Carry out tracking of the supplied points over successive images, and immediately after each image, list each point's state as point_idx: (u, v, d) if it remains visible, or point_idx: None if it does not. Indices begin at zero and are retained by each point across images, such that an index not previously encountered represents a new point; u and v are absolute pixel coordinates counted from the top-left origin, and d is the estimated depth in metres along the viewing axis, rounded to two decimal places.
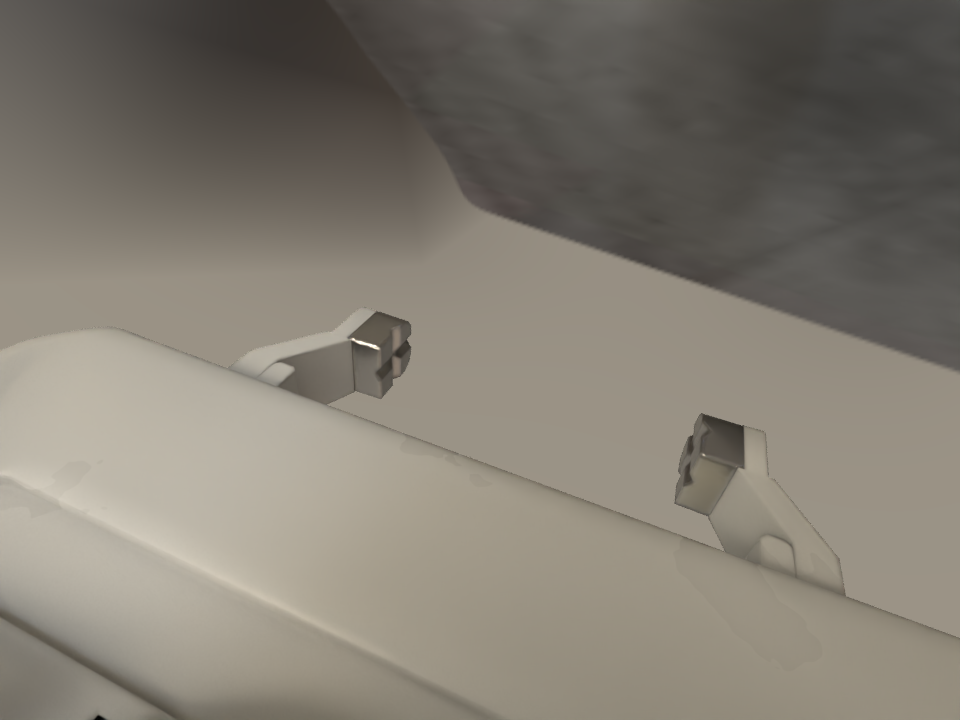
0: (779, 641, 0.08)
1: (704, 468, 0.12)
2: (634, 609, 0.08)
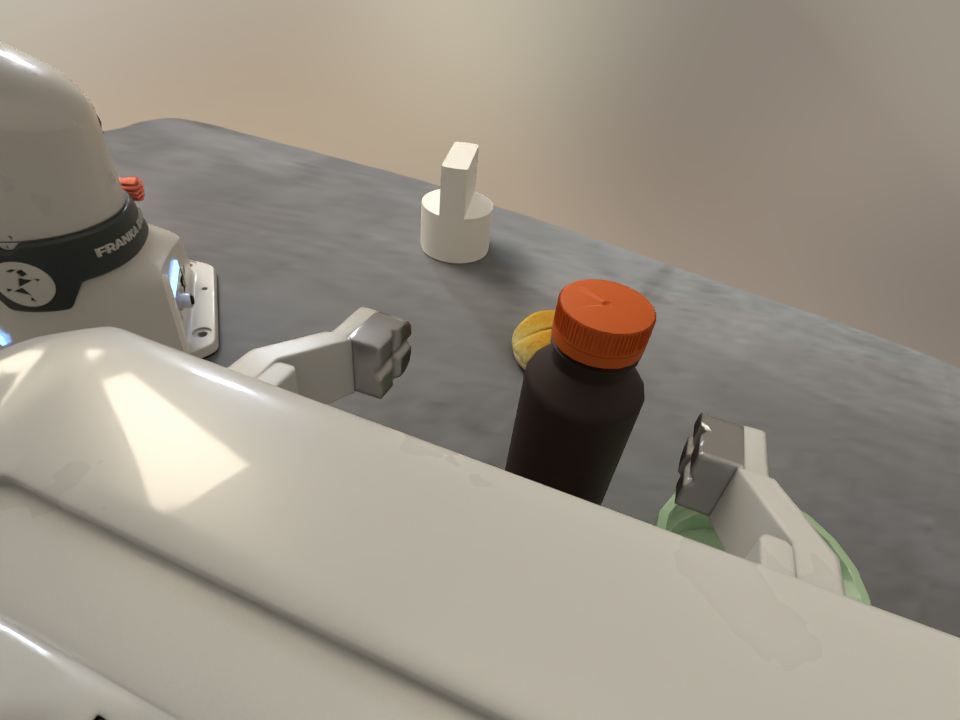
0: (779, 641, 0.08)
1: (704, 468, 0.12)
2: (634, 609, 0.08)
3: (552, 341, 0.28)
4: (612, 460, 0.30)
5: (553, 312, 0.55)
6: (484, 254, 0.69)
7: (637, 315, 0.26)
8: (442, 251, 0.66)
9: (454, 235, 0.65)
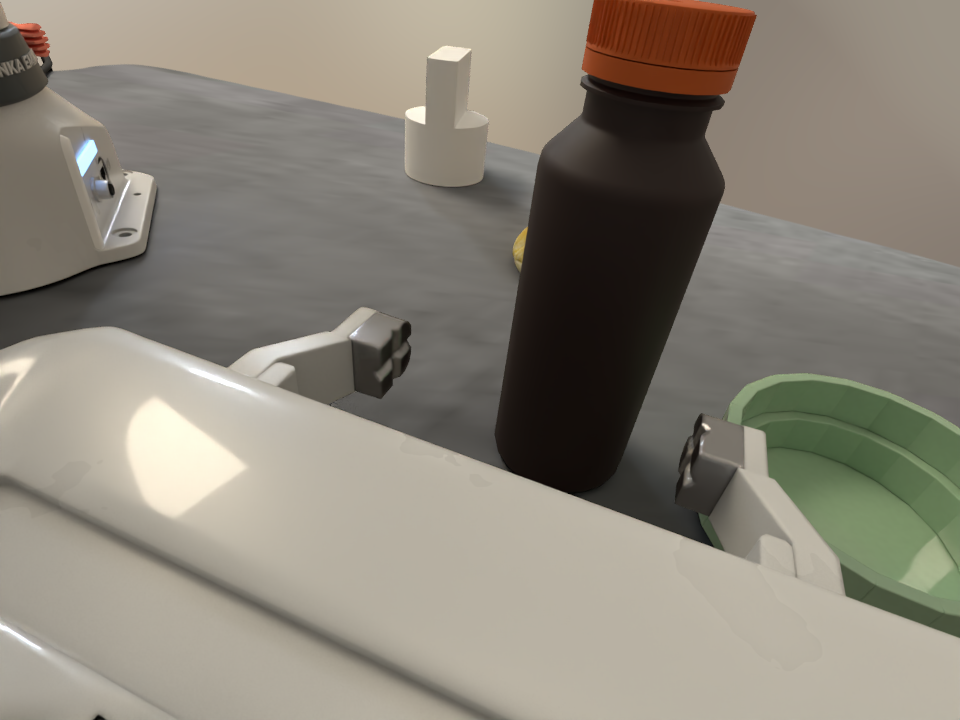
0: (779, 641, 0.08)
1: (704, 468, 0.12)
2: (635, 609, 0.08)
3: (583, 82, 0.18)
4: (674, 293, 0.20)
5: None
6: (478, 179, 0.59)
7: (726, 8, 0.16)
8: (429, 171, 0.57)
9: (443, 149, 0.55)
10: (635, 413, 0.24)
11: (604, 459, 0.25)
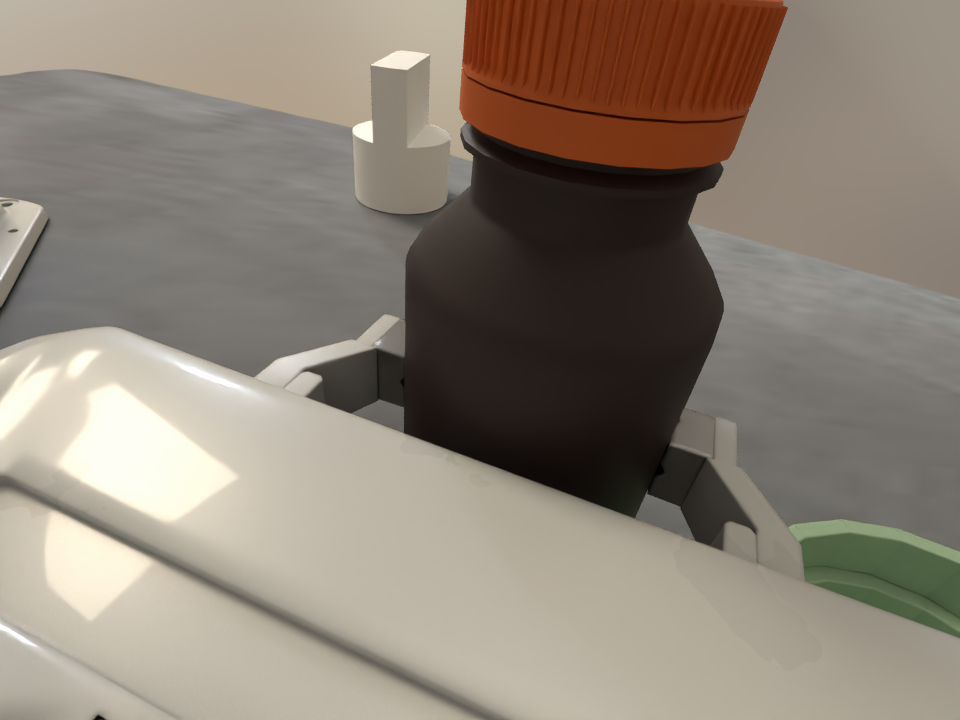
0: (779, 641, 0.08)
1: (674, 458, 0.12)
2: (635, 609, 0.08)
3: (464, 132, 0.10)
4: (638, 480, 0.12)
5: None
6: (440, 204, 0.51)
7: None
8: (381, 196, 0.49)
9: (394, 172, 0.47)
10: None
11: None
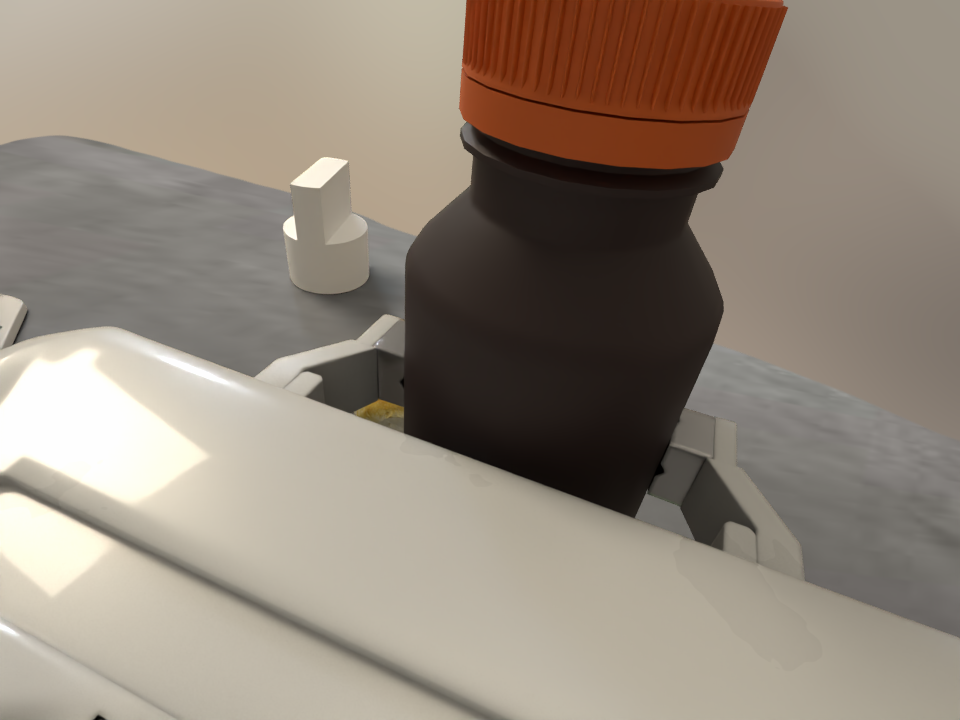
0: (779, 641, 0.08)
1: (675, 458, 0.12)
2: (635, 609, 0.08)
3: (463, 132, 0.10)
4: (637, 480, 0.12)
5: None
6: (361, 283, 0.61)
7: None
8: (307, 280, 0.58)
9: (317, 262, 0.57)
10: None
11: None
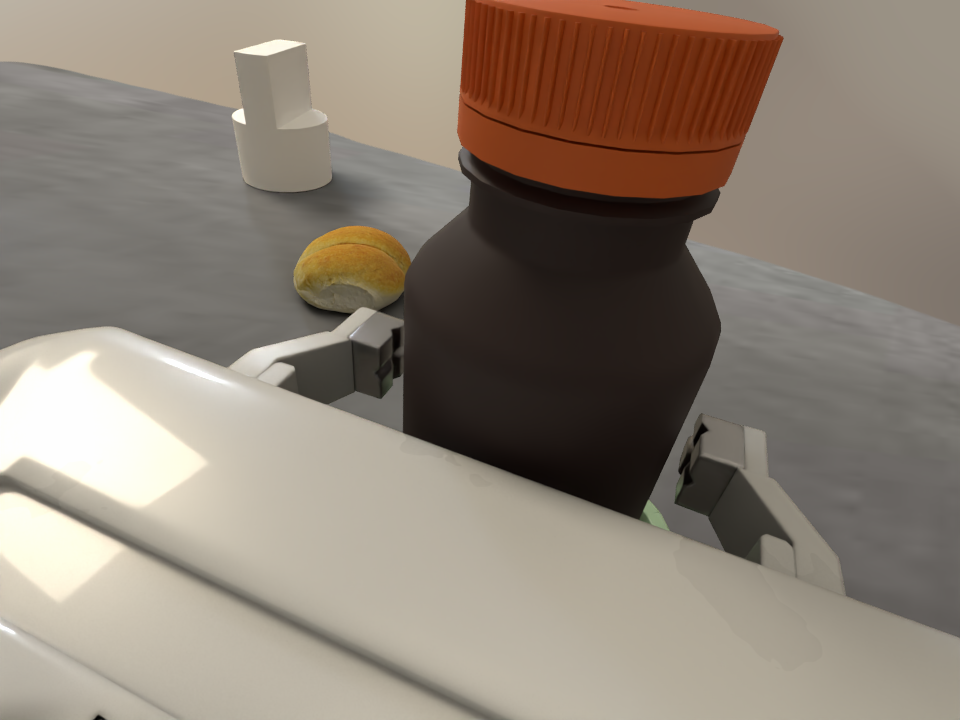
0: (779, 641, 0.08)
1: (704, 468, 0.12)
2: (635, 609, 0.08)
3: (462, 156, 0.10)
4: (635, 498, 0.12)
5: (356, 227, 0.40)
6: (321, 184, 0.55)
7: (721, 22, 0.08)
8: (260, 175, 0.52)
9: (268, 151, 0.51)
10: None
11: None
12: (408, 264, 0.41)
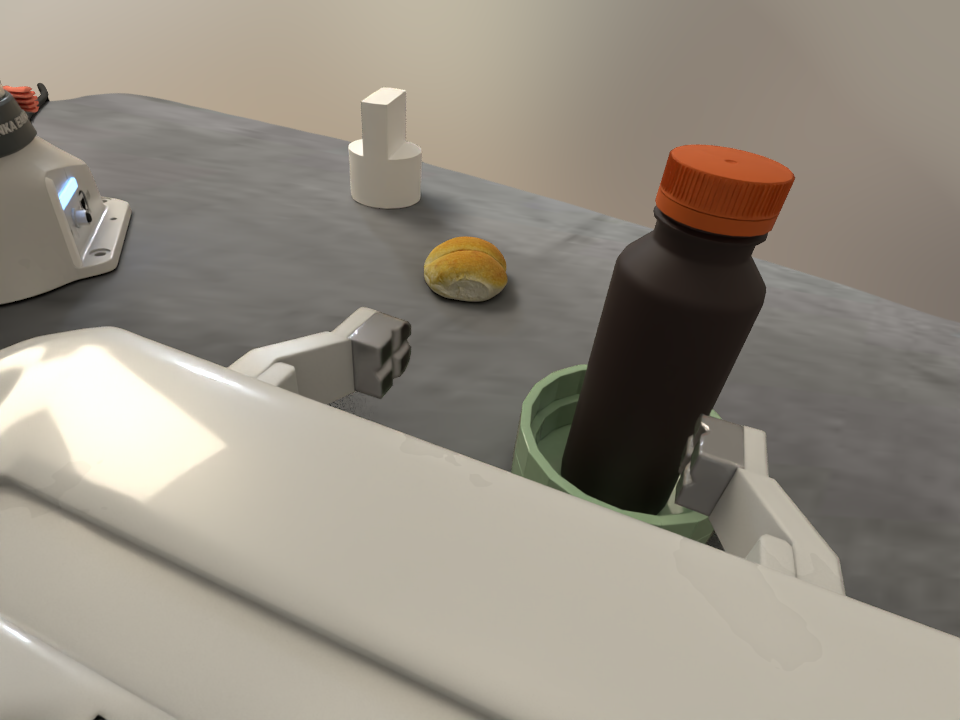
0: (779, 641, 0.08)
1: (704, 468, 0.12)
2: (635, 609, 0.08)
3: (658, 216, 0.23)
4: (724, 372, 0.25)
5: (467, 237, 0.53)
6: (414, 201, 0.68)
7: (771, 170, 0.21)
8: (369, 195, 0.66)
9: (379, 177, 0.64)
10: None
11: (659, 497, 0.30)
12: (505, 265, 0.54)
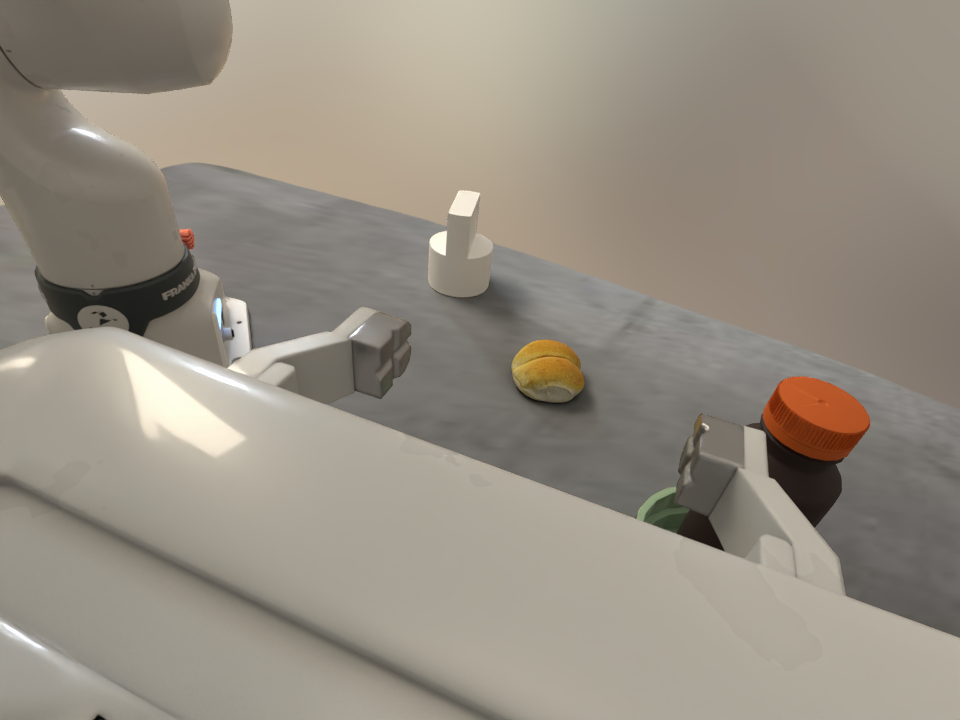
0: (779, 641, 0.08)
1: (704, 468, 0.12)
2: (635, 609, 0.08)
3: (766, 432, 0.32)
4: None
5: (547, 342, 0.62)
6: (485, 289, 0.77)
7: (853, 413, 0.30)
8: (448, 286, 0.74)
9: (458, 272, 0.72)
10: None
11: None
12: (580, 365, 0.62)
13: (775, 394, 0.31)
